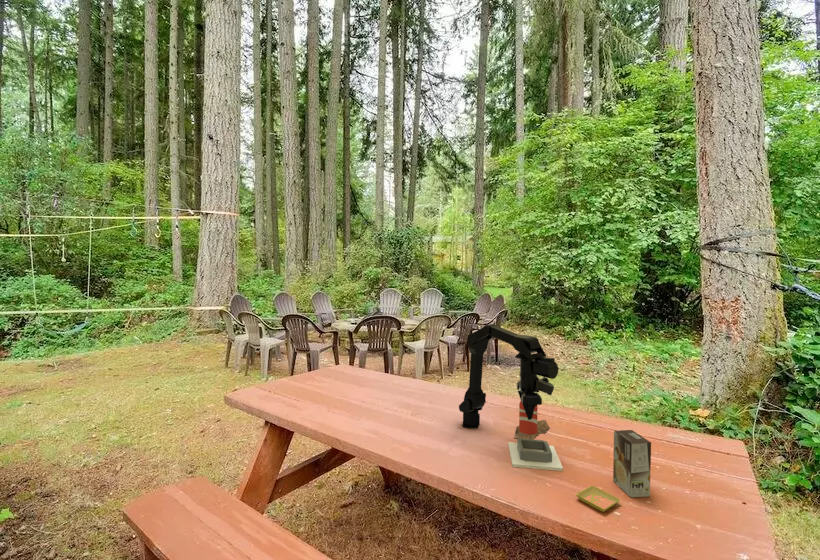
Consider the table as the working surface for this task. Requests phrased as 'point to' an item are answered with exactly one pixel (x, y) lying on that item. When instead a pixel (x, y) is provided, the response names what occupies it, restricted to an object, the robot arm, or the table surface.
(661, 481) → the table surface
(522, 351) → the robot arm
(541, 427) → the brown fossil slab
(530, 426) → the beverage can
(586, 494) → the olive green tray
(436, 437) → the table surface
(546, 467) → the can holder
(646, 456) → the coffee box
